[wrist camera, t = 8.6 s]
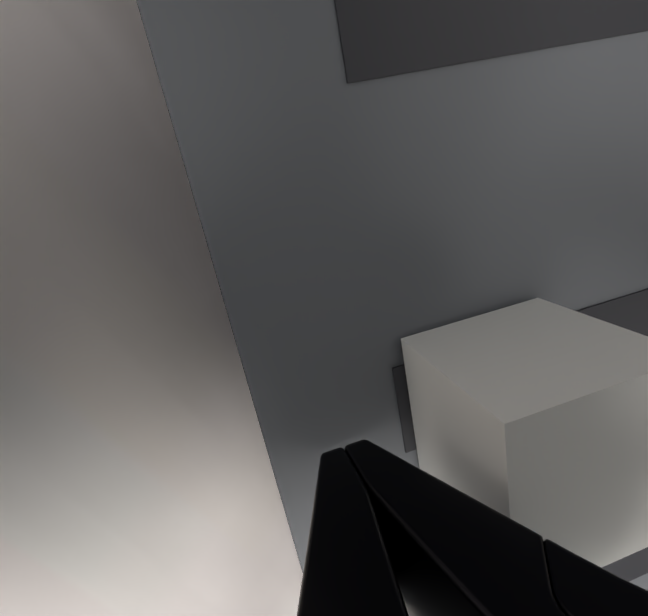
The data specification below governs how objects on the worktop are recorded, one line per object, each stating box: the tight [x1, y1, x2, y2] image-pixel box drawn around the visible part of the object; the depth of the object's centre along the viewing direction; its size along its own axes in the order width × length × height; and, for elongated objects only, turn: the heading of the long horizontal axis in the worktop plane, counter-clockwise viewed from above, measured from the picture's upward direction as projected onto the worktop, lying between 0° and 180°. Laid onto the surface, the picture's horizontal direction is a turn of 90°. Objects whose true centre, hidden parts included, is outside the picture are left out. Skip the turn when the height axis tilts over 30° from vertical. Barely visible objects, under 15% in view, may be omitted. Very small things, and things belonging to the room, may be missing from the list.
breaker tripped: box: [401, 298, 648, 568], centre depth 7 cm, size 3×3×3 cm
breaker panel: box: [137, 0, 648, 590], centre depth 9 cm, size 22×17×4 cm
